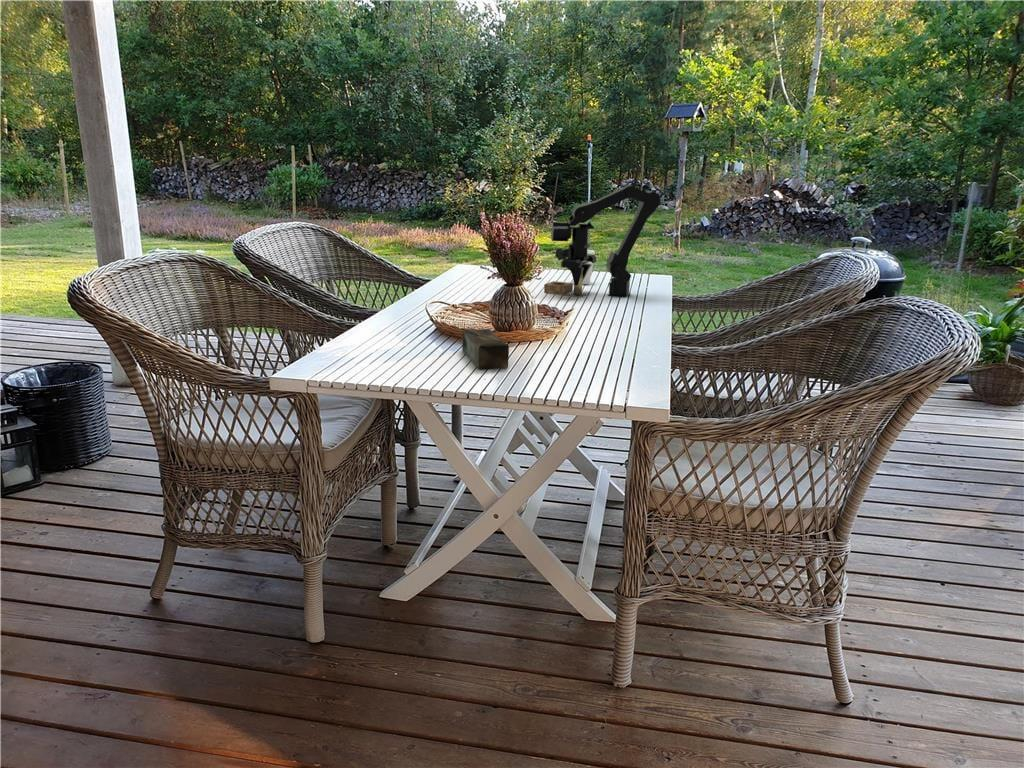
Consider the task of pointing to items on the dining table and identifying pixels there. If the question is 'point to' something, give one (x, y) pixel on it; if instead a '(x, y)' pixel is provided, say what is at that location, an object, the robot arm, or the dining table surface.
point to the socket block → (558, 288)
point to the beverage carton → (485, 349)
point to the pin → (578, 287)
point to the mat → (576, 295)
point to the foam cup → (588, 275)
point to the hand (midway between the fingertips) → (578, 284)
